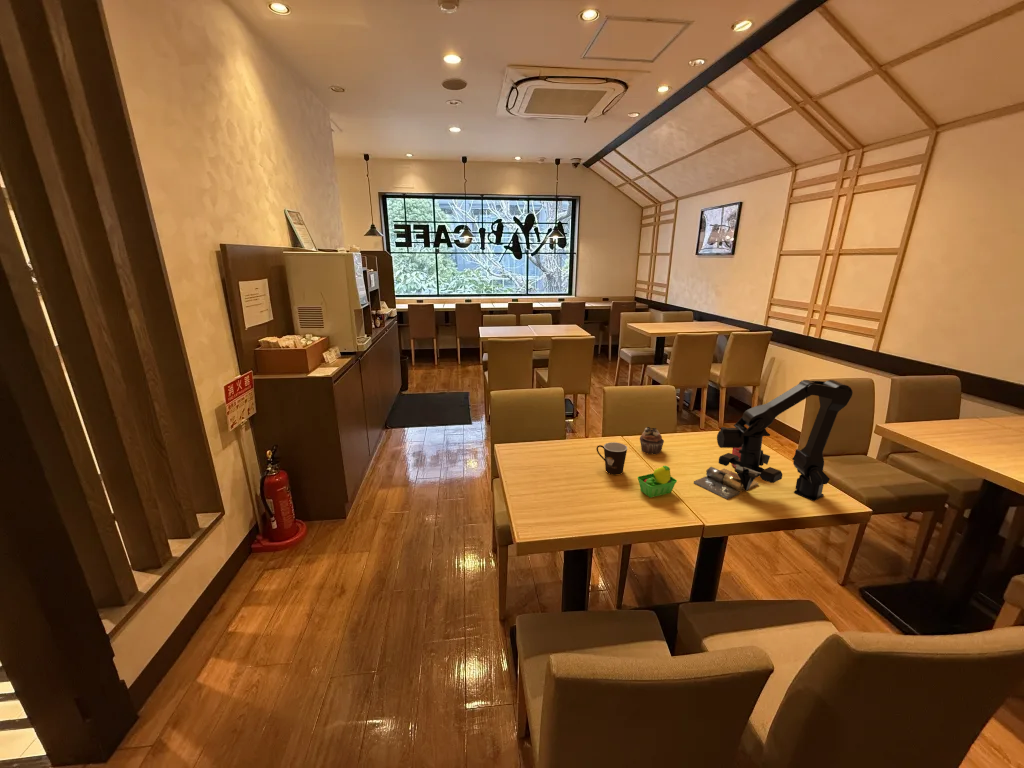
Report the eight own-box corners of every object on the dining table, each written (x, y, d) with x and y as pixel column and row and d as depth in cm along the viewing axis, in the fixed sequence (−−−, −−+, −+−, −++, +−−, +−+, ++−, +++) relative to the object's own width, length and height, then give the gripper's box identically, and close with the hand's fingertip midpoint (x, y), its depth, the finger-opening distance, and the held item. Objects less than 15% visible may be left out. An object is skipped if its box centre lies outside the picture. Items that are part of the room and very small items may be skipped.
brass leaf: (758, 484, 150) (759, 474, 149) (739, 493, 145) (741, 482, 144) (724, 470, 161) (725, 460, 160) (705, 477, 156) (706, 467, 155)
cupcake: (664, 456, 174) (666, 433, 171) (639, 454, 176) (641, 431, 173) (661, 446, 183) (663, 425, 180) (638, 444, 185) (640, 423, 182)
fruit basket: (661, 483, 152) (664, 454, 149) (679, 495, 144) (682, 465, 141) (635, 489, 148) (637, 460, 145) (651, 502, 140) (654, 471, 137)
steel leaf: (746, 490, 147) (748, 480, 146) (727, 499, 141) (728, 488, 140) (710, 474, 158) (711, 464, 157) (691, 482, 153) (692, 472, 152)
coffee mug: (630, 473, 160) (632, 449, 157) (611, 478, 157) (612, 453, 154) (612, 461, 170) (613, 438, 167) (594, 465, 167) (595, 441, 164)
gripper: (794, 450, 137) (788, 494, 141) (738, 434, 153) (734, 474, 156) (775, 459, 132) (769, 504, 135) (719, 440, 147) (715, 482, 151)
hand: (746, 490), depth 145 cm, fingers closed
